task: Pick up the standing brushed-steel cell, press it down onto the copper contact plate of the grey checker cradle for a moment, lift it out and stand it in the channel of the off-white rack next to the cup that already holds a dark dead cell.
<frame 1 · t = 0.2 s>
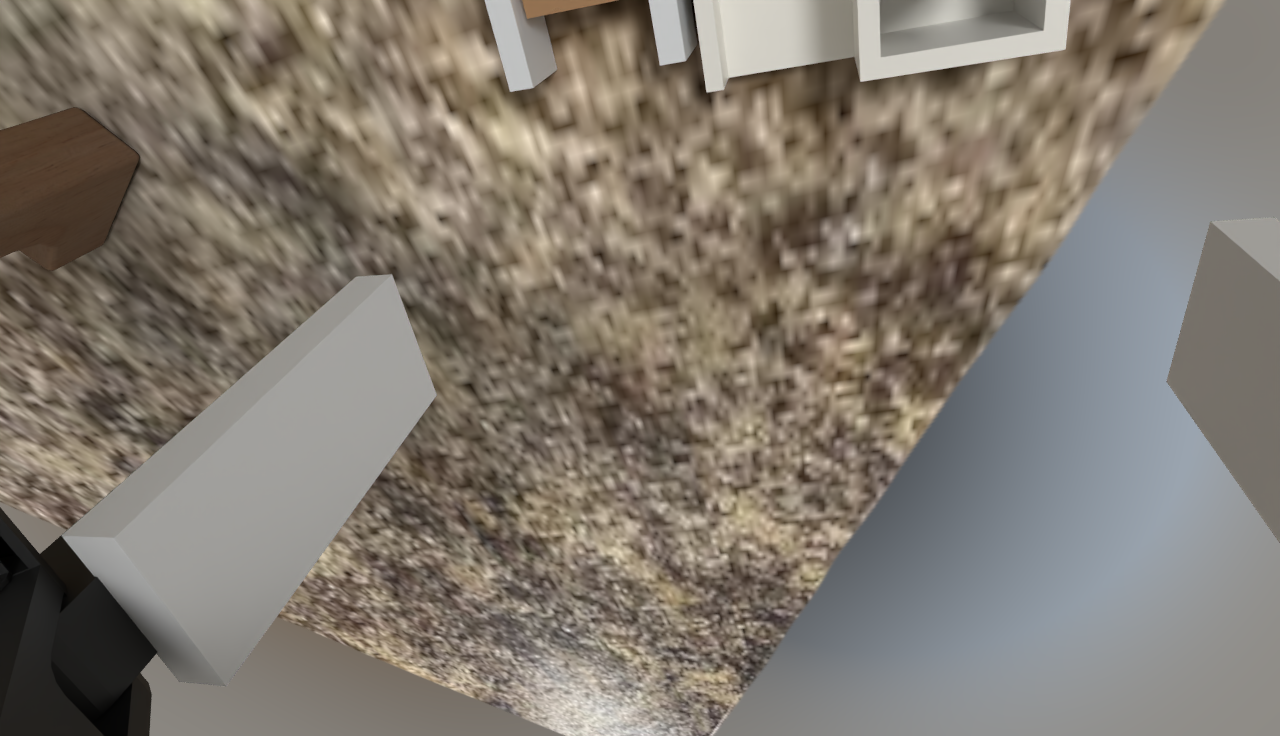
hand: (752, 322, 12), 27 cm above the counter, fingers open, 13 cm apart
wooden block: (95, 177, 48), on the counter
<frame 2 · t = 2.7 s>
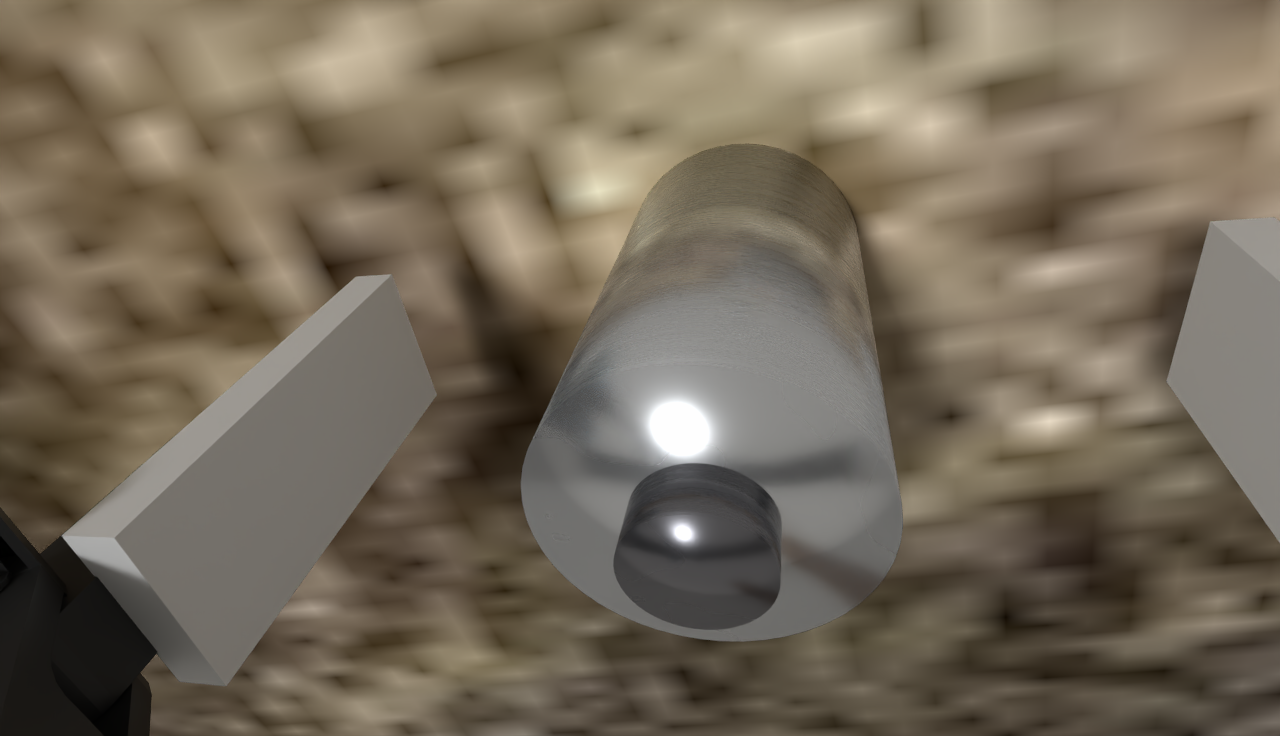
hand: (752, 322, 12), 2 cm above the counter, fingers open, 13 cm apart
cell A: (742, 255, 14), on the counter
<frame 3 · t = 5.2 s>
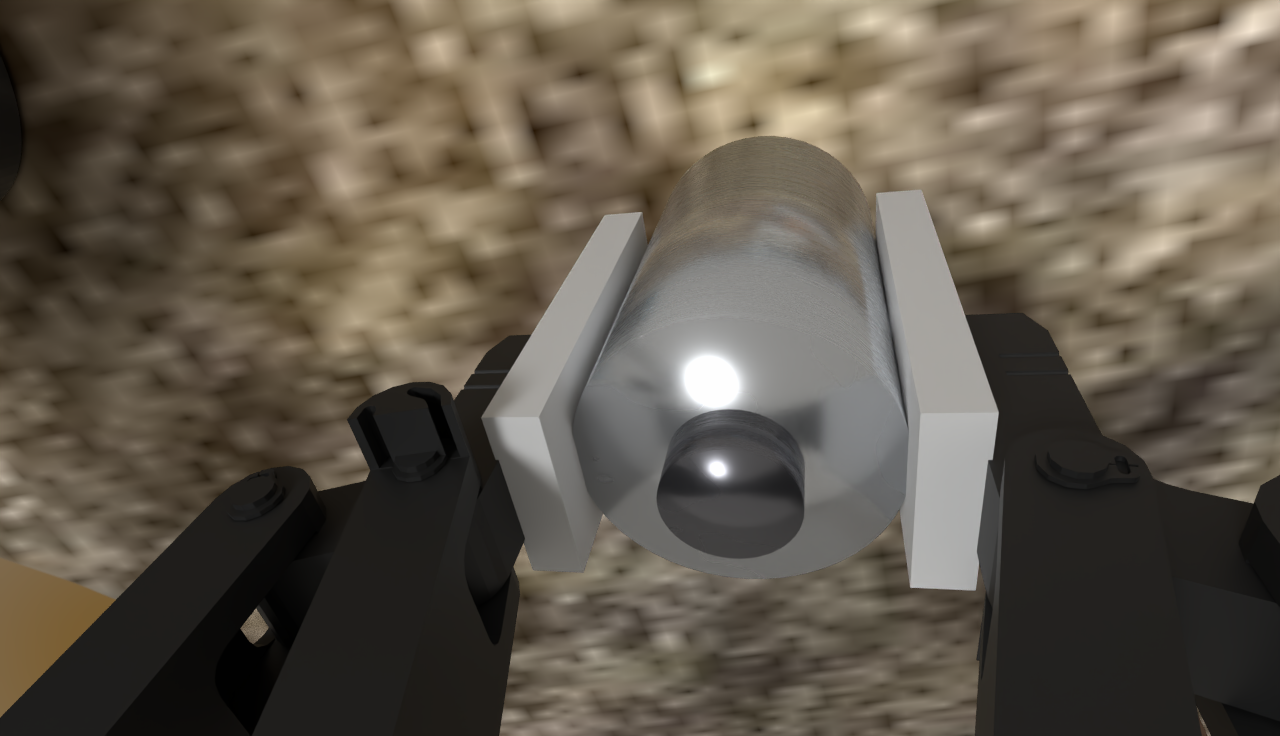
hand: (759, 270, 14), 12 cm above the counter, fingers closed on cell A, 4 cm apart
cell A: (764, 240, 15), point 11 cm above the counter, touching gripper
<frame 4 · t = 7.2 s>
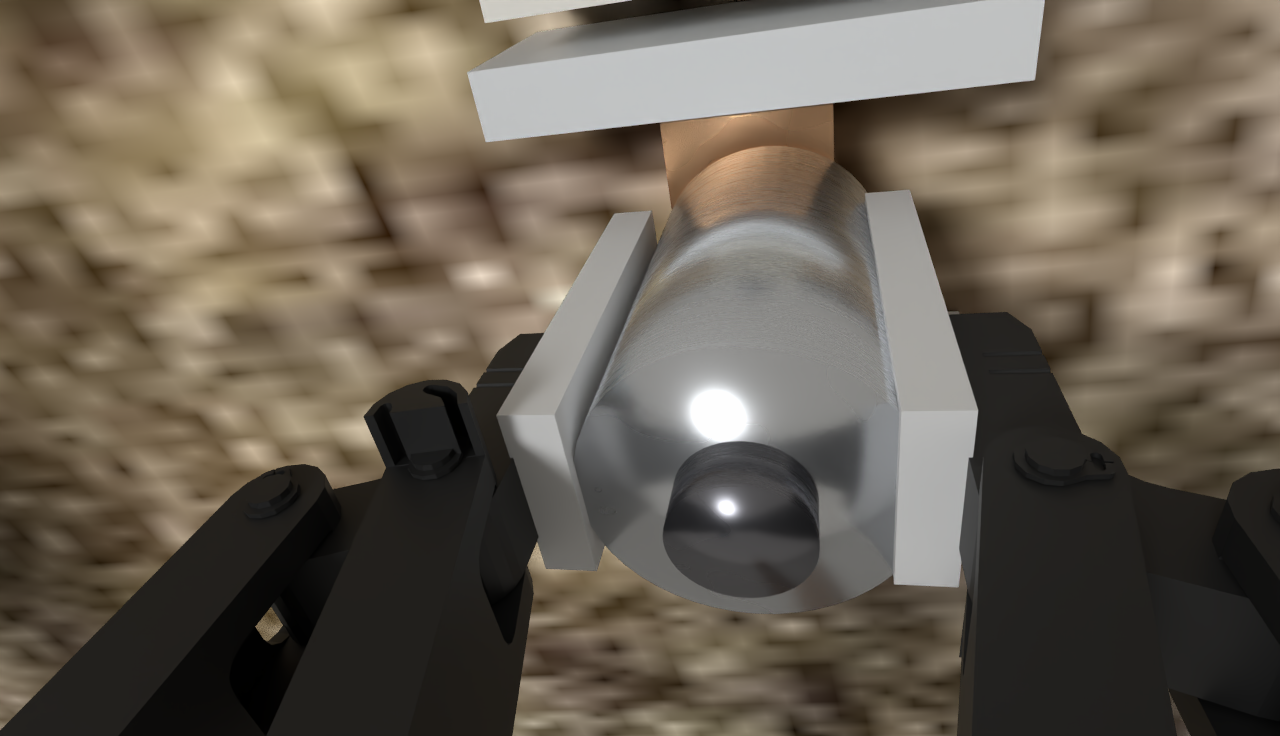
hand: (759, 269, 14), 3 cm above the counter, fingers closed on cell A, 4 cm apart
cradle: (760, 203, 17), on the counter
contact plate: (757, 224, 16), point 1 cm above the counter, slide at -1.5 cm
cell A: (770, 253, 15), point 2 cm above the counter, touching gripper
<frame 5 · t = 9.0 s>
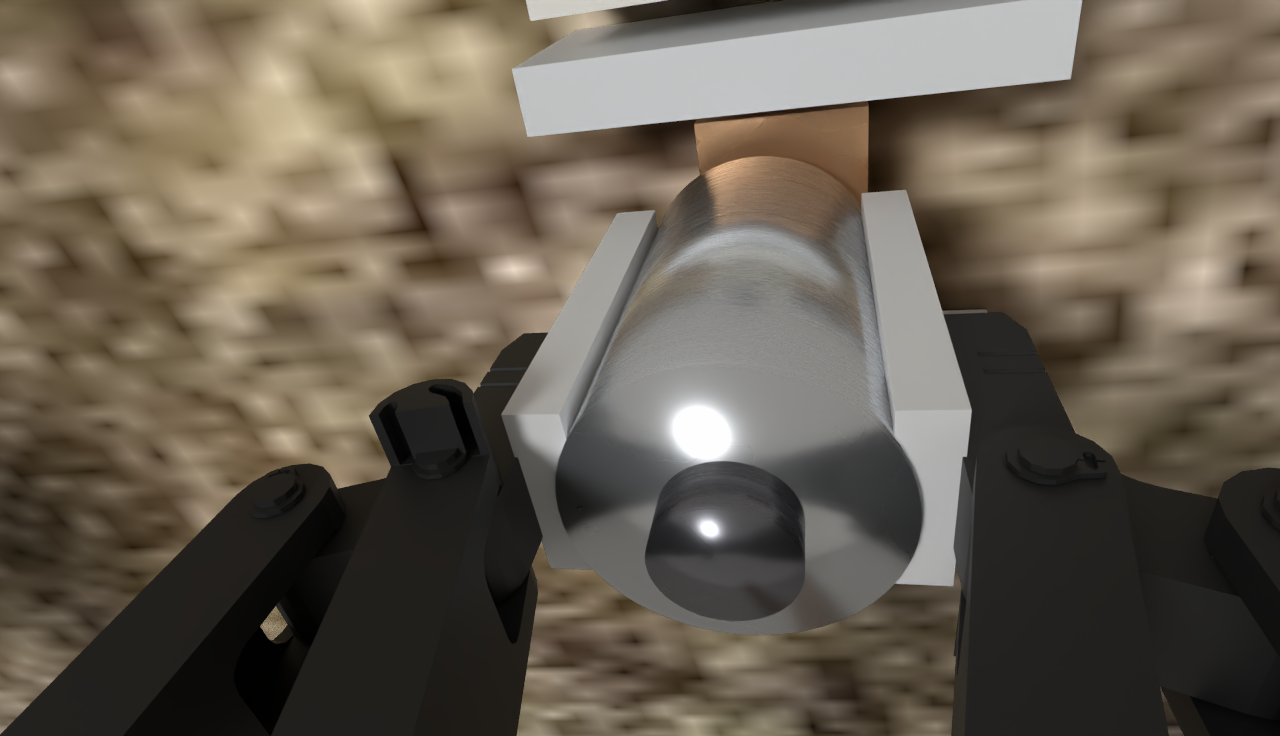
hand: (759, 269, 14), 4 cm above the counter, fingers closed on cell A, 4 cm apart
cradle: (791, 200, 17), on the counter
contact plate: (788, 225, 16), point 2 cm above the counter, slide at -1.2 cm
cell A: (761, 264, 15), point 3 cm above the counter, touching gripper
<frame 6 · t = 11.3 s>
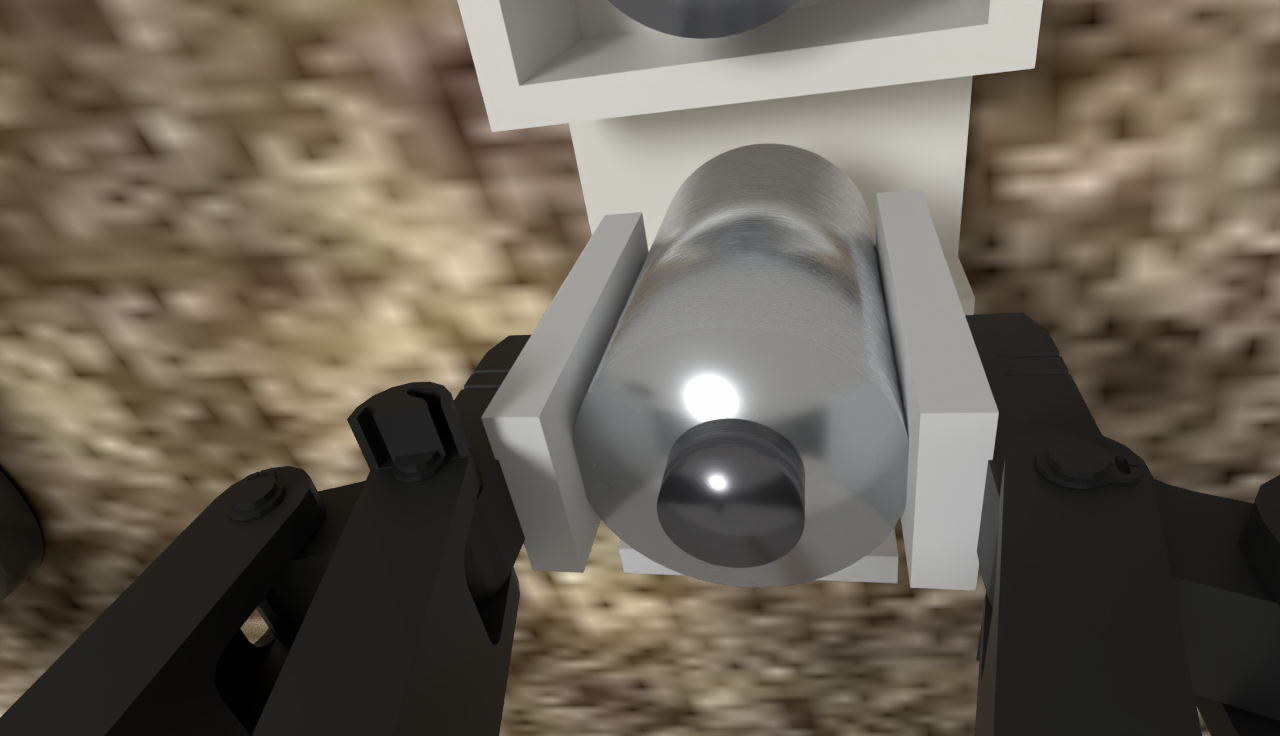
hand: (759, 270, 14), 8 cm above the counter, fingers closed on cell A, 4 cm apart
cradle: (751, 402, 25), on the counter
rack: (756, 22, 19), on the counter
cell A: (764, 247, 15), point 6 cm above the counter, touching gripper
when the fingers open (2 cm above the counter, at t = 12.3 s): cell A stays where it is, resting on rack.
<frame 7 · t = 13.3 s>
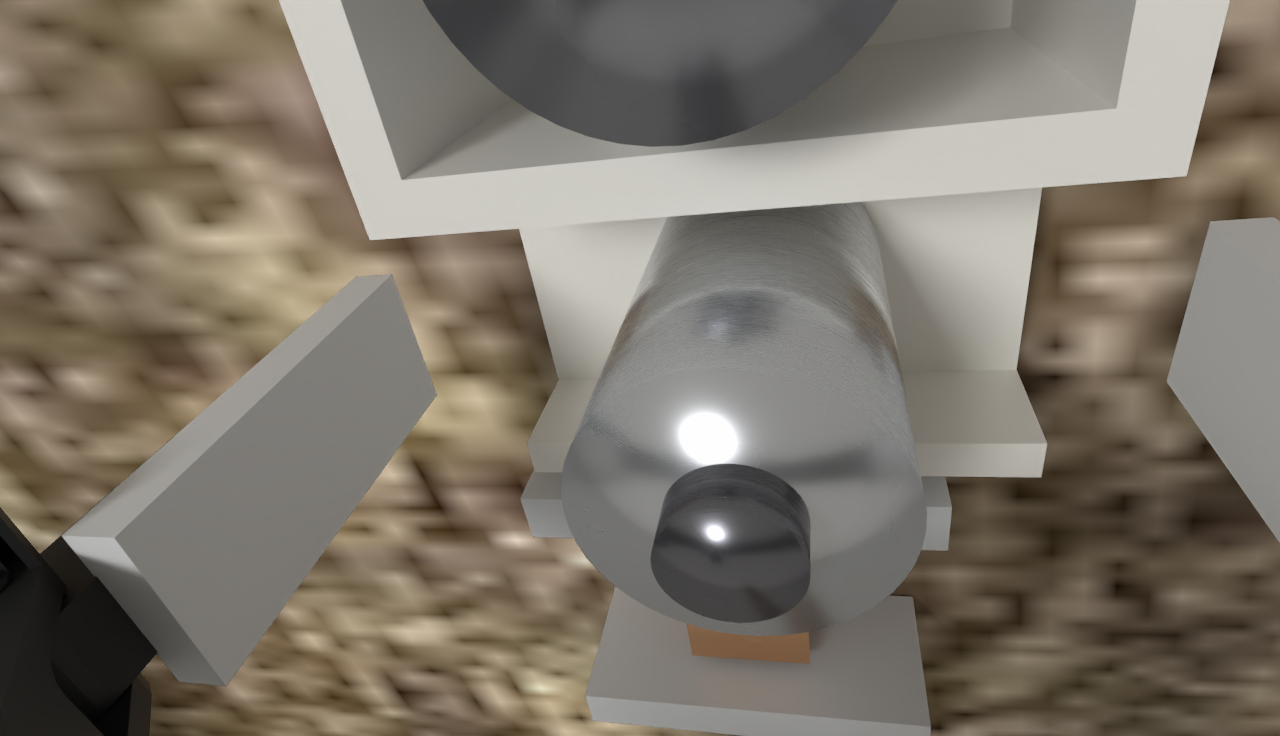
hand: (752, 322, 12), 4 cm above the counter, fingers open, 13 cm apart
cradle: (749, 515, 21), on the counter
contact plate: (745, 555, 19), point 2 cm above the counter, slide at -1.2 cm
rack: (754, 67, 14), on the counter
cell A: (765, 264, 15), point 1 cm above the counter, touching rack
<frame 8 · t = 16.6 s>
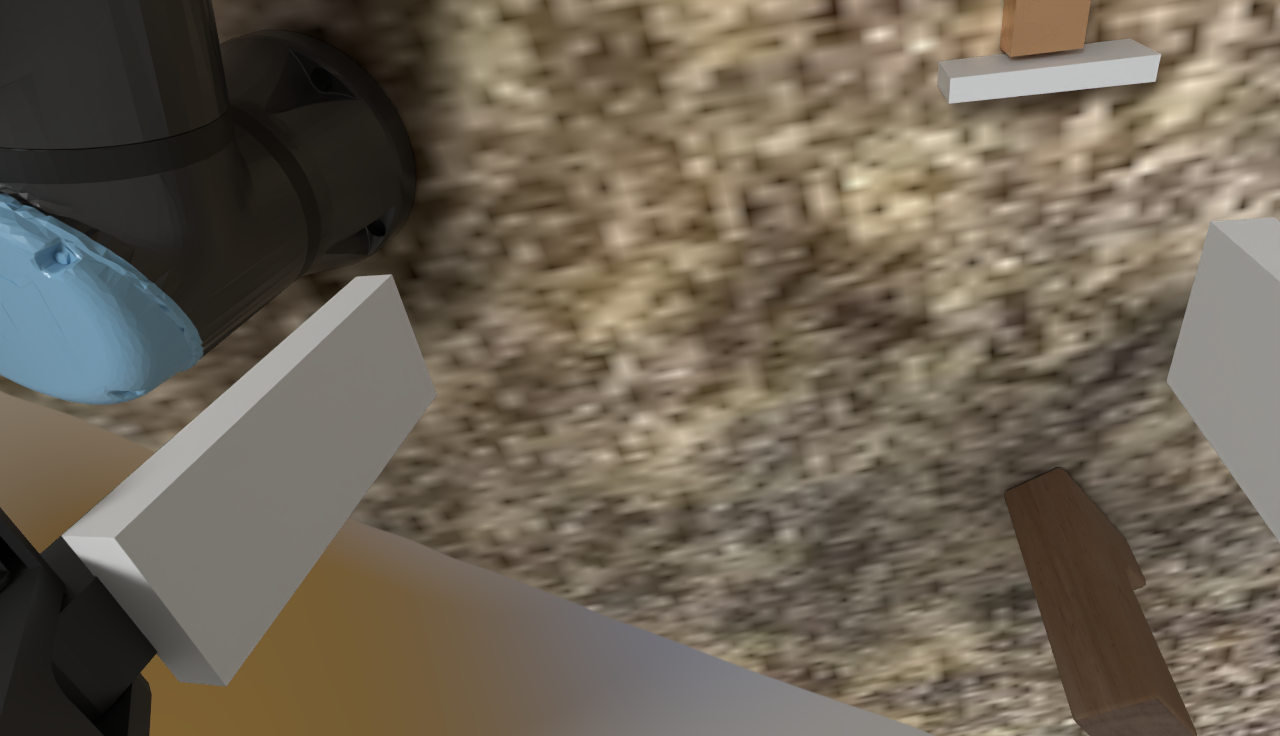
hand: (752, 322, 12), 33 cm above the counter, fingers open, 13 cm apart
wooden block: (1063, 512, 54), on the counter
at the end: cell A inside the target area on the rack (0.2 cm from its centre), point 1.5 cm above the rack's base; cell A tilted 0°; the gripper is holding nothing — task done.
